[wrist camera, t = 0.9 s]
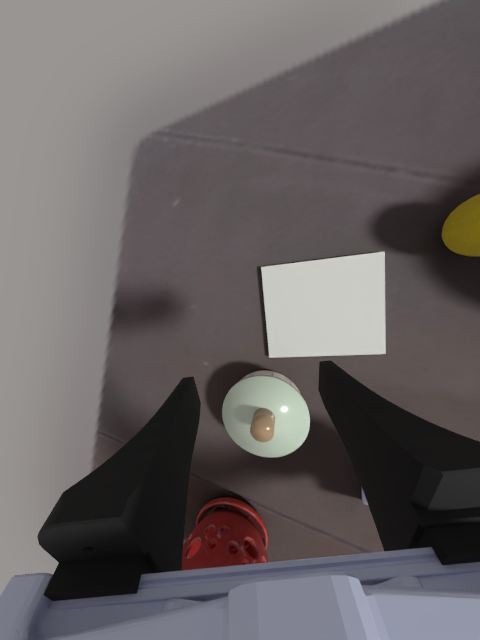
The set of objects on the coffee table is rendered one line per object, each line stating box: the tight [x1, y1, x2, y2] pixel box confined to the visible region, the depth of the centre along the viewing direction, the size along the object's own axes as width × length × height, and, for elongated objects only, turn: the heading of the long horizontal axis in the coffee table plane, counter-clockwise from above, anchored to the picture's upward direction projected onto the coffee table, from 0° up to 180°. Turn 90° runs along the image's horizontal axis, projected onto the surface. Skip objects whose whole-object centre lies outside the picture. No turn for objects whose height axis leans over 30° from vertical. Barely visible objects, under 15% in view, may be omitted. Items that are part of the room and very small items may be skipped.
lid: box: [222, 375, 310, 457], centre depth 27 cm, size 11×11×3 cm
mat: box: [261, 252, 386, 358], centre depth 28 cm, size 12×14×1 cm
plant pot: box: [182, 497, 268, 571], centre depth 31 cm, size 13×13×12 cm
